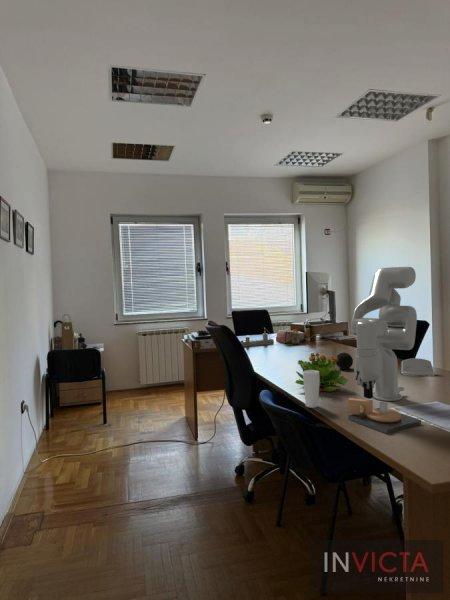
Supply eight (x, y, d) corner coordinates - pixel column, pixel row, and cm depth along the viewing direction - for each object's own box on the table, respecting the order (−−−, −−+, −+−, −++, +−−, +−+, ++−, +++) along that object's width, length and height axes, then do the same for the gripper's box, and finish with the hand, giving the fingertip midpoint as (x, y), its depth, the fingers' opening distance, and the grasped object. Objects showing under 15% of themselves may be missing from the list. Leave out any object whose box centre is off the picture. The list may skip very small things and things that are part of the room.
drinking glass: (318, 409, 167) (318, 373, 167) (302, 408, 170) (301, 372, 169) (321, 404, 173) (320, 370, 173) (305, 403, 176) (304, 369, 175)
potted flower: (304, 397, 185) (303, 359, 184) (283, 385, 208) (282, 351, 207) (352, 392, 191) (351, 355, 191) (326, 380, 214) (326, 348, 214)
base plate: (381, 411, 163) (381, 397, 162) (421, 424, 147) (421, 409, 146) (348, 419, 154) (347, 405, 154) (386, 434, 138) (386, 418, 138)
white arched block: (402, 375, 220) (400, 357, 223) (400, 376, 224) (398, 359, 227) (435, 376, 217) (433, 357, 220) (432, 377, 222) (430, 359, 225)
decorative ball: (352, 367, 245) (352, 351, 245) (353, 371, 235) (353, 354, 235) (335, 367, 247) (335, 351, 247) (335, 370, 238) (335, 354, 237)
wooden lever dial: (352, 408, 161) (351, 394, 161) (402, 413, 153) (402, 399, 153) (346, 417, 151) (346, 403, 151) (399, 424, 142) (399, 408, 142)
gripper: (373, 348, 166) (374, 392, 167) (346, 353, 159) (347, 398, 160) (388, 351, 159) (389, 396, 160) (360, 356, 152) (361, 403, 154)
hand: (368, 397), depth 160 cm, fingers closed
